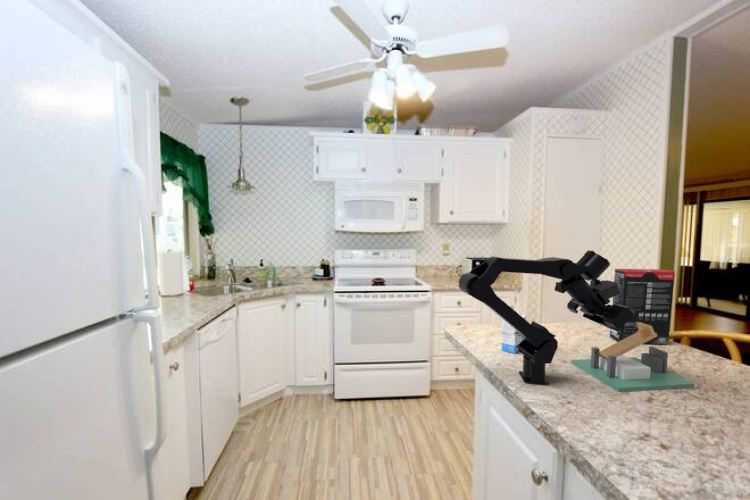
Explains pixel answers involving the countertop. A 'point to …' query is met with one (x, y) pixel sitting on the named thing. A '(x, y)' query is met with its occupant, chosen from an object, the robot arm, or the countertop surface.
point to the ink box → (510, 337)
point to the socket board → (635, 383)
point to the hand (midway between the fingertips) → (615, 329)
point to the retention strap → (630, 341)
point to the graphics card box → (645, 301)
